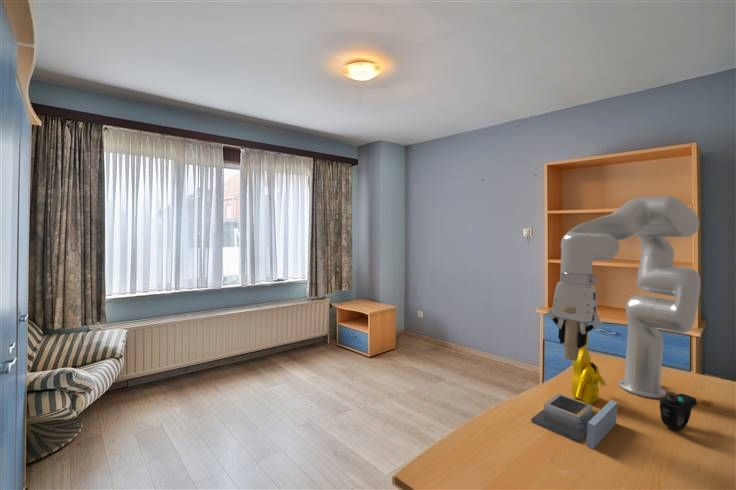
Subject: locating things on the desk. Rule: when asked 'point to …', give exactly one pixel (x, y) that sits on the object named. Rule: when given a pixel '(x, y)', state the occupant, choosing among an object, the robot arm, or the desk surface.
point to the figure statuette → (586, 377)
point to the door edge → (601, 424)
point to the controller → (676, 410)
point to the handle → (571, 336)
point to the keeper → (565, 417)
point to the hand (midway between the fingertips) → (571, 343)
